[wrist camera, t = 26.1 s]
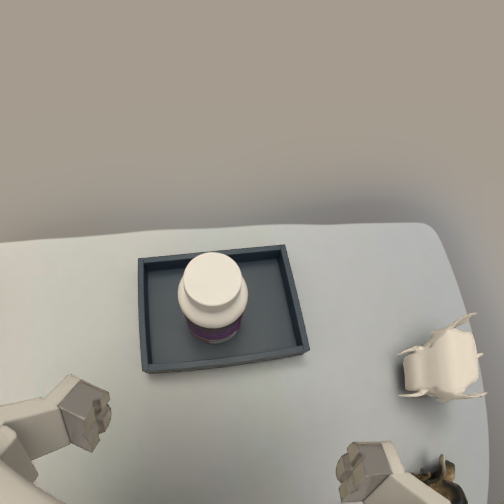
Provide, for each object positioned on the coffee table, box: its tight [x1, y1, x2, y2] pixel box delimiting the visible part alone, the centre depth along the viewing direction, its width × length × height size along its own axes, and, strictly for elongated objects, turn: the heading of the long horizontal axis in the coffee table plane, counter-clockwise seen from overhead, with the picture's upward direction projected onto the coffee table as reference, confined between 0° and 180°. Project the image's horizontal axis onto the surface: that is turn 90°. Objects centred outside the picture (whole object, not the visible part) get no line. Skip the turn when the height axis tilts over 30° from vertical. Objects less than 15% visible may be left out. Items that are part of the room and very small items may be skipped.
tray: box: [138, 245, 310, 374], centre depth 27 cm, size 15×11×2 cm
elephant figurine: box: [396, 313, 488, 402], centre depth 23 cm, size 10×12×9 cm
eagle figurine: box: [411, 454, 468, 504], centre depth 17 cm, size 8×7×9 cm
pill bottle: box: [178, 252, 248, 344], centre depth 23 cm, size 5×5×10 cm
